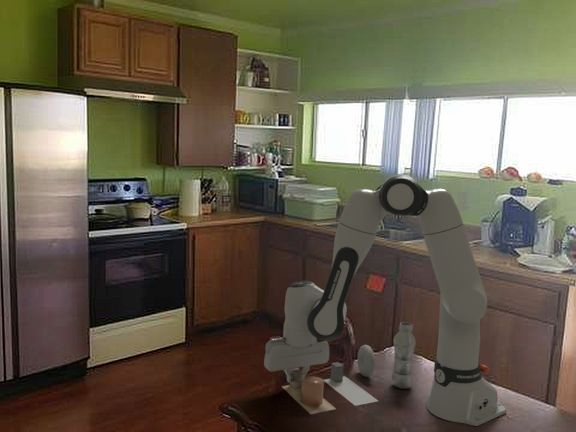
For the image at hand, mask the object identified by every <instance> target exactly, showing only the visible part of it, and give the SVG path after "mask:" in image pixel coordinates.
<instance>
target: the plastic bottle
mask: <svg viewBox="0 0 576 432" xmlns="http://www.w3.org/2000/svg"><path fill="white" fill-rule="evenodd" d="M398 330H399V331H398V332H397V333H396V334H395V336H394V337H393V350H394V357H393V358H394V361H393V368H392V371H391V377H390V380H391V384H392V385H393V386H394V387H395V388H397V389H402V390H403V389H404V390H406V389H410V388H411V387H412V385H413V383H414V374H413V358H414V353H415V352H414V351H415V348H416V338H415V337H414V334H413V333H412V332H413V324H412V323H410V322H406V321H405V322H404V321H403V322H400V323H399V327H398Z"/></svg>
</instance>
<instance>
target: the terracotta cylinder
mask: <svg viewBox="0 0 576 432" xmlns="http://www.w3.org/2000/svg"><path fill="white" fill-rule="evenodd" d="M324 380H325V379H323V378H322V377H318V376H315V375H314V376H313V375H312V376H311V375H309V376H306V377H305V378H303V380H302V397H301V401H302V403H303V404H305V405H308V406H318V405H321V404H322V403H323V398H324V386H325V385H324V384H325V381H324Z"/></svg>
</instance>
